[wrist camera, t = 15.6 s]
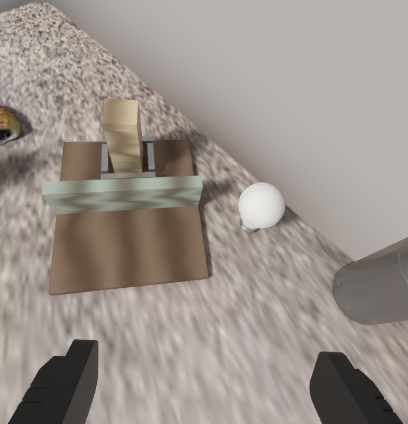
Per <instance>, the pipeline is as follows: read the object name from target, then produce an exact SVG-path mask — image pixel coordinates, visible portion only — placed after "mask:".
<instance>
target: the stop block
mask: <svg viewBox="0 0 408 424" xmlns="http://www.w3.org/2000/svg"><path fill="white" fill-rule="evenodd" d="M102 127H103V131H104V135H105V138H106V142H107V146H108V150H109V153H110V157H111V161H112V164H113V168H114V172H115V173H136V172H143V155H144V154H143V144H142V133H141V123H140V113H139V102H138V101H136V100H120V99H105V102H104V109H103V116H102Z"/></svg>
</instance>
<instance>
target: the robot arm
mask: <svg viewBox="0 0 408 424" xmlns="http://www.w3.org/2000/svg"><path fill="white" fill-rule="evenodd" d="M333 294H334V298H335V300H336V302H337V304H338V306H339V307H340V309H341V310H342V311H343V312H344V314H345V315H346V316H348V317H349V318H350V319H352V320H353V321H355V322H357V323H360V324H364V325H373V324H381V323H390V322H397V321H405V320H408V238H406V239H403V240H401V241H399V242H397V243H395V244H393V245H390V246H388V247H386V248H384V249H382V250H380V251H378V252H375V253H373V254H371V255H369V256H367V257H365V258H363V259H361V260H358V261H356V262H354V263H352V264H350V265H348V266H345V267H343V268H342V269H340V270H339V271H338V272H337V274H336V275H335V277H334V280H333ZM97 380H98V341H97V340H78V339H75V340H74V341H73V342H72V344H71V346H70V348H69V350H68V352H67V354H66V356H53V357H52V358H51V359H50V360H49V361H48V362H47V363H46V364H45V365H44V366H42V367H41V368H40V369H39V371H38V373H37V374H36V376H35V378H34V380H33V381H32V383H31V385H30V388H29V389H28V390H27V392H26V393H25V395H24V397H23V399H22V402H21V403H20V404H19V405H18V407H17V409H16V411H15V412H14V414H13V416H12V418H11V419H10V421H9V423H8V424H85V422H86V419H87V416H88V413H89V410H90V407H91V403H92V400H93V397H94V394H95V390H96V386H97ZM310 396H311V399H312V402H313V404H314V407H315V409H316V411H317V413H318V416H319V418H320V420H321V422H322V424H403V423H402V421H401V420H400V419H399V417H398V416H397V414H396V413H394V412H393V409H392V408H391V406H390V405H389V403H388V402H387V401H386V400H384V396H383V395H382V394H381V392H380V391H379V389H378V388H377V387H376V385H375V384H374V382H373V381H372V380H370V379H369V378H368V377H367V376H366V375H365V374H364V373H363V372H362V371H360V370H359V369H355V368H354V367H353V365H352V364H351V363H350V361H349V360H348V358H347V357H346V355H345V354H343V353H341V352H320V353H319V355H318V358H317V361H316V364H315V367H314V371H313V374H312V377H311V380H310Z"/></svg>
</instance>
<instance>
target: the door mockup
mask: <svg viewBox="0 0 408 424" xmlns="http://www.w3.org/2000/svg"><path fill="white" fill-rule="evenodd" d="M102 144H103V143H102V142H64V147H63V157H62V167H61V176H60V181H56V182H43V188H42V196H43V197H44V198H45V200H46V201H47V202H48V204H49V205H50V206H51V208H52V209H53V210H54V211H55V213H56V214H57V216H56V225H55V235H54V245H53V255H52V265H51V274H50V284H49V295H61V294H70V293H79V292H89V291H98V290H107V289H116V288H126V287H135V286H144V285H154V284H163V283H172V282H182V281H191V280H200V279H208V270H207V263H206V256H205V249H204V242H203V235H202V228H201V221H200V214H199V207H198V205H199V201H200V197H201V193H202V189H203V184H202V178H201V176H194V172H193V165H192V158H191V151H190V144H189V140H167V141H153V150H154V164H155V177H154V178H129V179H105V180H101V174H102V172H101V161H102ZM143 154H144V155H143V172H149V165H148V149H147V148H145V149H143ZM110 173H115V172H114V168H113V164H112V161H111V157H110Z"/></svg>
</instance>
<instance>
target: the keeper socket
mask: <svg viewBox="0 0 408 424" xmlns="http://www.w3.org/2000/svg"><path fill="white" fill-rule="evenodd" d="M102 143H103V144H102V161H101V172H102V174H101V180H105V179H129V178H154V177H155V164H154V150H153V136H151V137H142V144H143V149H145V148H147V149H148V165H149V172H136V173H110V153H109V150H108V146H107V142H106V138H105V137H102Z"/></svg>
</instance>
